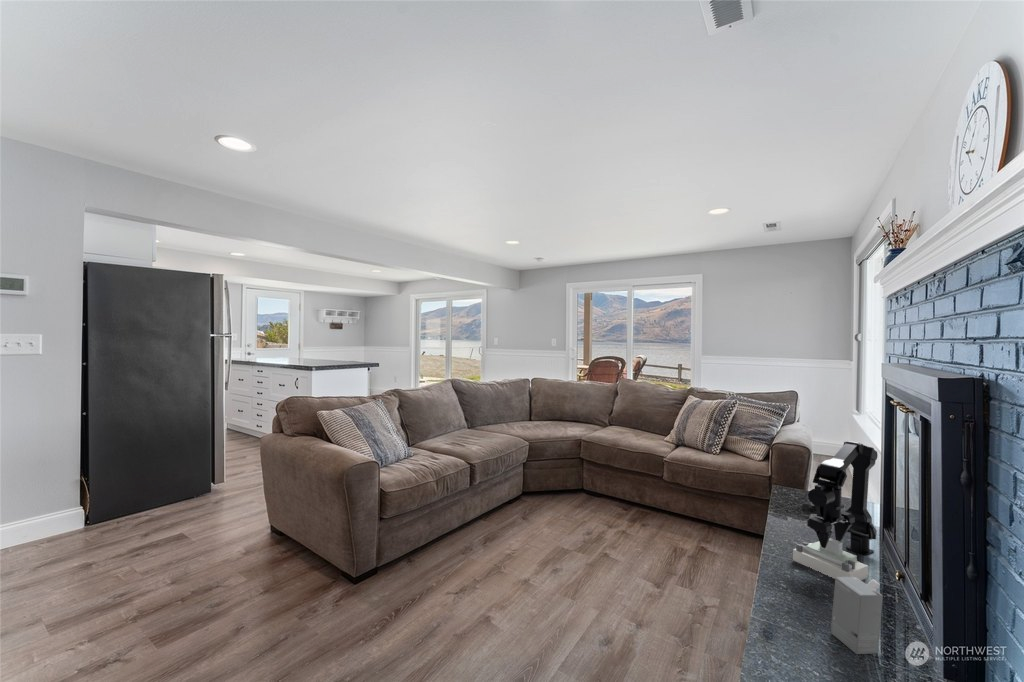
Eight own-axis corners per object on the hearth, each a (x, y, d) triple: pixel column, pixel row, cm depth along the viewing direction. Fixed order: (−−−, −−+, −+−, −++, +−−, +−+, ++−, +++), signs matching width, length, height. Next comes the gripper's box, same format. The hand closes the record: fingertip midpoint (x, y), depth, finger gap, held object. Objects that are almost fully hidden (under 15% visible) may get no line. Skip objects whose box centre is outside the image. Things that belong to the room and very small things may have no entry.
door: (812, 544, 160) (813, 528, 160) (863, 564, 146) (863, 546, 146) (799, 549, 157) (799, 532, 156) (849, 570, 142) (849, 552, 142)
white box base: (810, 553, 162) (810, 536, 161) (867, 577, 145) (868, 559, 145) (793, 560, 157) (793, 543, 157) (850, 585, 141) (850, 566, 140)
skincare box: (830, 633, 118) (830, 575, 118) (854, 632, 119) (854, 574, 118) (857, 656, 110) (857, 594, 109) (883, 654, 110) (883, 592, 110)
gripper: (821, 488, 163) (821, 530, 163) (791, 497, 154) (791, 540, 154) (855, 498, 153) (855, 542, 153) (825, 508, 144) (825, 554, 144)
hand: (830, 544), depth 151 cm, fingers open, 9 cm apart
